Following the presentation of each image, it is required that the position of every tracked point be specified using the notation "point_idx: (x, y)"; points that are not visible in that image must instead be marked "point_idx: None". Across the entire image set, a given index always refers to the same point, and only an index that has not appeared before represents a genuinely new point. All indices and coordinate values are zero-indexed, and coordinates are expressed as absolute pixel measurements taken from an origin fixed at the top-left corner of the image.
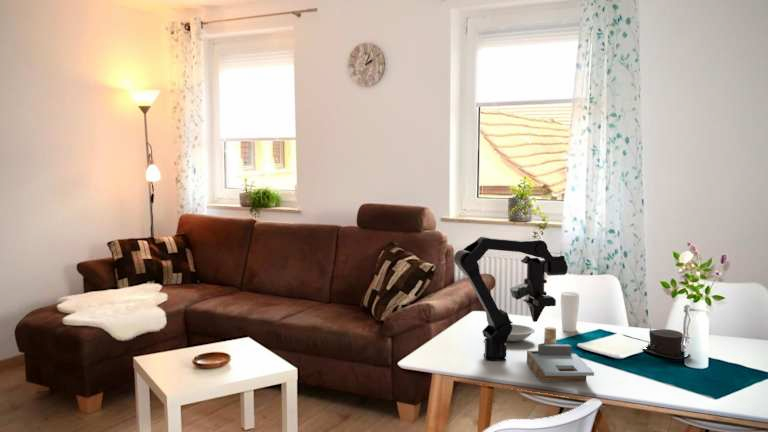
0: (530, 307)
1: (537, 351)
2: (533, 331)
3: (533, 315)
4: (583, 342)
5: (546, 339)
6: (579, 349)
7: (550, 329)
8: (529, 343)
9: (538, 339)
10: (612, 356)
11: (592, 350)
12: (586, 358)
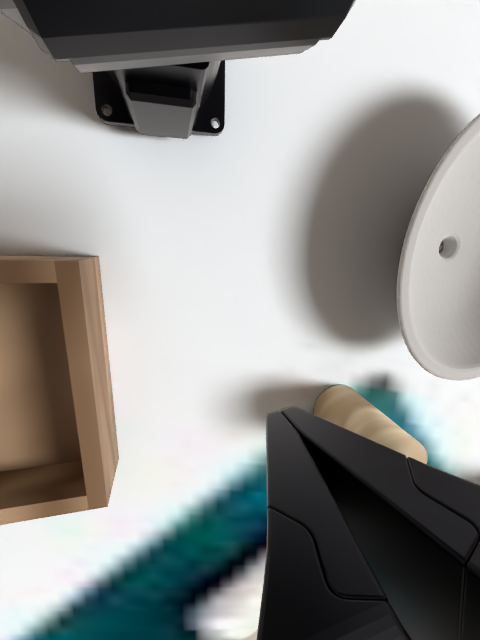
0: (450, 543)
1: (64, 329)
2: (433, 370)
3: (271, 466)
4: None
5: (348, 413)
6: None
7: None
8: None
9: (443, 378)
10: (214, 600)
11: None
12: (186, 523)
